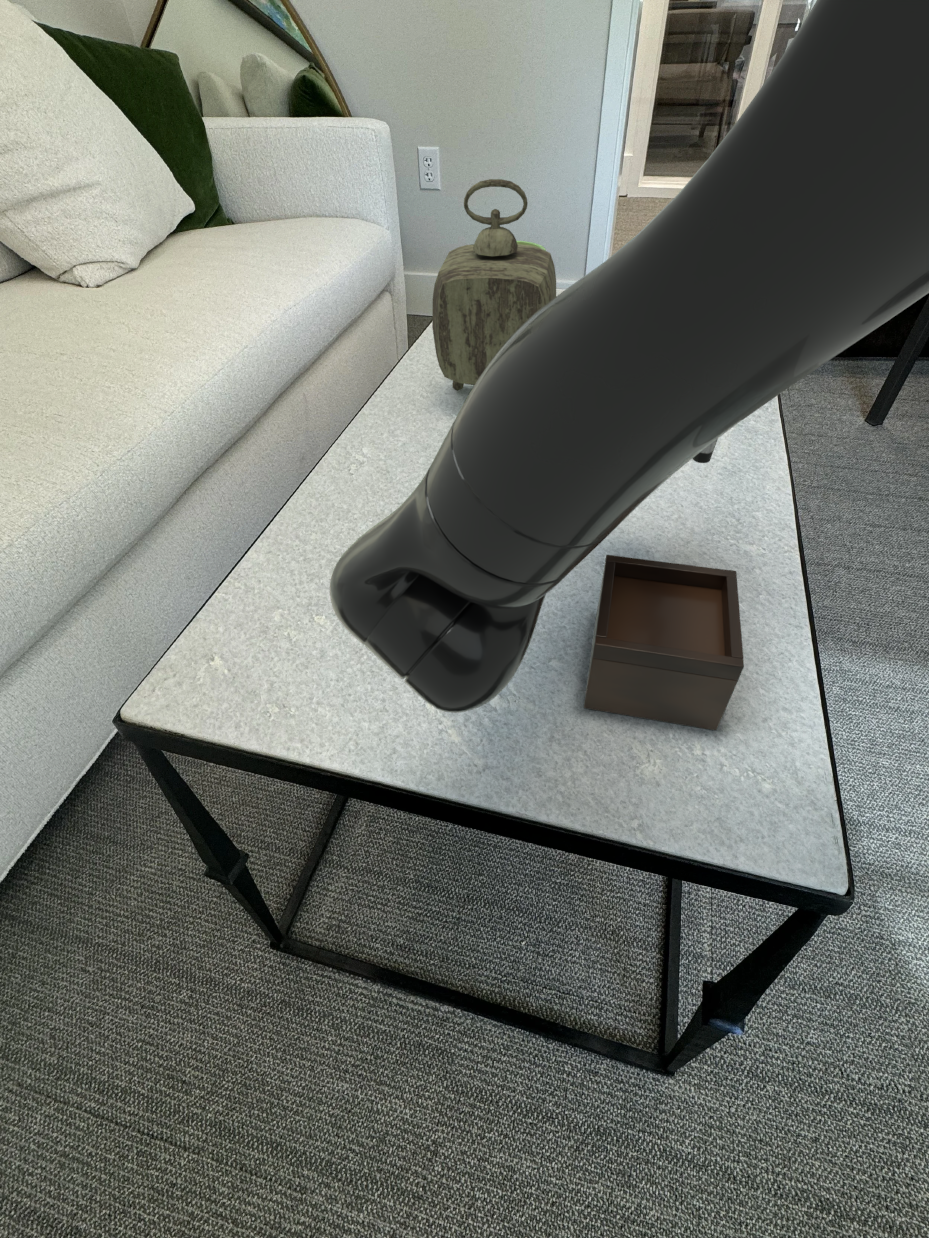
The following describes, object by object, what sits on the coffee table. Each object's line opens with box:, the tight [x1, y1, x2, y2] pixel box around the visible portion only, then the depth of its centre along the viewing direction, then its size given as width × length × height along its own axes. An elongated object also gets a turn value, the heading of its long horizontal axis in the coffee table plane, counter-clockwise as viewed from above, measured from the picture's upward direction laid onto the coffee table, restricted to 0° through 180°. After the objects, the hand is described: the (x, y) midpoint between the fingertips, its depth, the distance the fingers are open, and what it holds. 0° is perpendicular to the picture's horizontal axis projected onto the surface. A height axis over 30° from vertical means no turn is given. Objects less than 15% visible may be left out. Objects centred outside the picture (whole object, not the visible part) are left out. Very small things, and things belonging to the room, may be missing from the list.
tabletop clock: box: [431, 178, 557, 392], centre depth 77 cm, size 14×9×25 cm, turn 81°
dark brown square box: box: [583, 554, 745, 731], centre depth 50 cm, size 10×10×8 cm
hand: (670, 370), depth 52 cm, fingers closed on beverage can, 6 cm apart
